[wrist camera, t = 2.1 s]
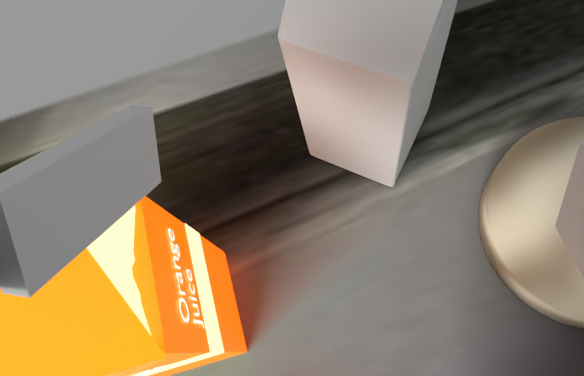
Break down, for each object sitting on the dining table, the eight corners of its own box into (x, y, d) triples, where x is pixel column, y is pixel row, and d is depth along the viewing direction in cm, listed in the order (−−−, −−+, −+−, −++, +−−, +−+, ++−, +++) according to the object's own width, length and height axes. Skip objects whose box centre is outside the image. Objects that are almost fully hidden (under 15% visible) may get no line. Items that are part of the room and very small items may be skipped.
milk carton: (393, 189, 35) (423, 26, 18) (309, 155, 37) (260, -22, 19) (427, 111, 37) (487, -108, 19) (346, 83, 39) (331, -141, 21)
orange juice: (117, 283, 36) (-147, 211, 17) (225, 250, 36) (74, 140, 17) (132, 389, 33) (-165, 440, 15) (249, 354, 33) (99, 360, 14)
